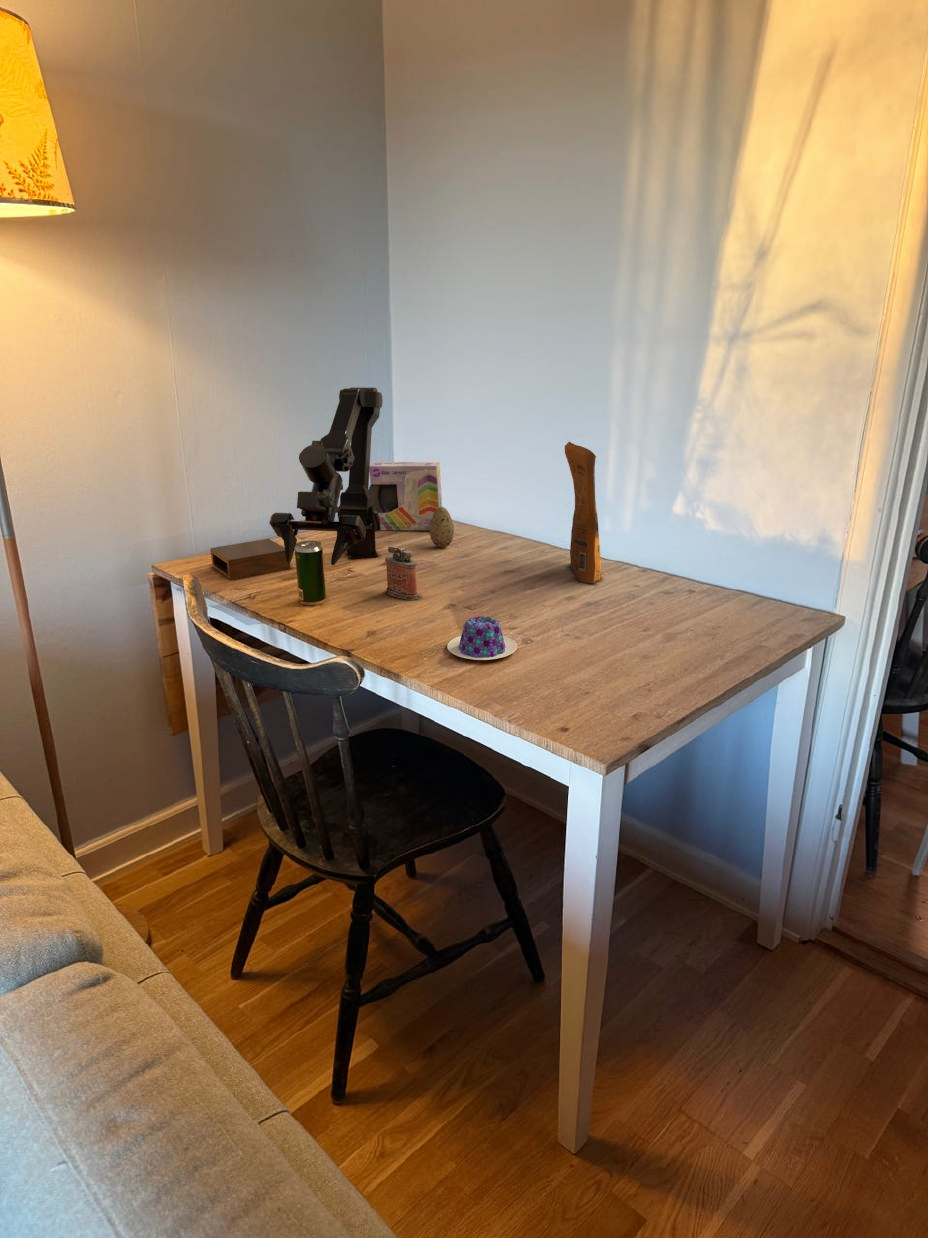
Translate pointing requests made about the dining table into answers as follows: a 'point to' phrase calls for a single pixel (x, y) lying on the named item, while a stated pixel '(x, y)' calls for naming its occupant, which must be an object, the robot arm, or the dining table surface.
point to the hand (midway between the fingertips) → (310, 563)
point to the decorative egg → (441, 528)
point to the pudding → (482, 640)
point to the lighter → (401, 574)
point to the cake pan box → (405, 493)
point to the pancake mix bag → (584, 515)
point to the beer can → (310, 572)
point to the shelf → (249, 558)
